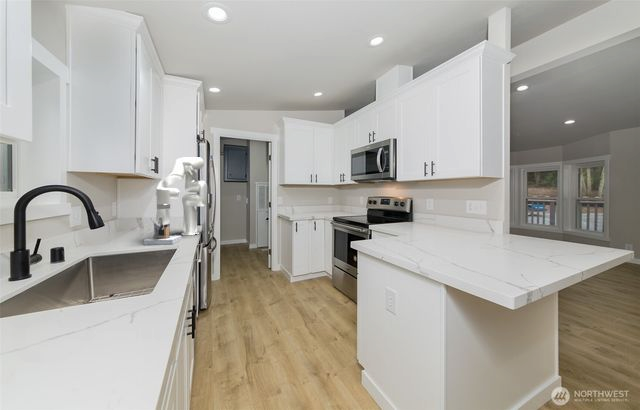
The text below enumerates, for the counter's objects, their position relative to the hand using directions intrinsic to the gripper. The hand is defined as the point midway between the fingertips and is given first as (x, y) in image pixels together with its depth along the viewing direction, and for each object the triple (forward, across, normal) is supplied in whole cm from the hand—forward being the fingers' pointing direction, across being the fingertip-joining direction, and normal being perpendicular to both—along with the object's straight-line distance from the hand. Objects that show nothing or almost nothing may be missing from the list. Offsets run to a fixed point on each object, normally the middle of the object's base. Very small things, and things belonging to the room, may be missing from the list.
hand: (163, 234), depth 163 cm
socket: (+5, 0, 0) cm, 5 cm away
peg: (+5, 0, 0) cm, 5 cm away
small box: (+5, -18, -8) cm, 20 cm away
